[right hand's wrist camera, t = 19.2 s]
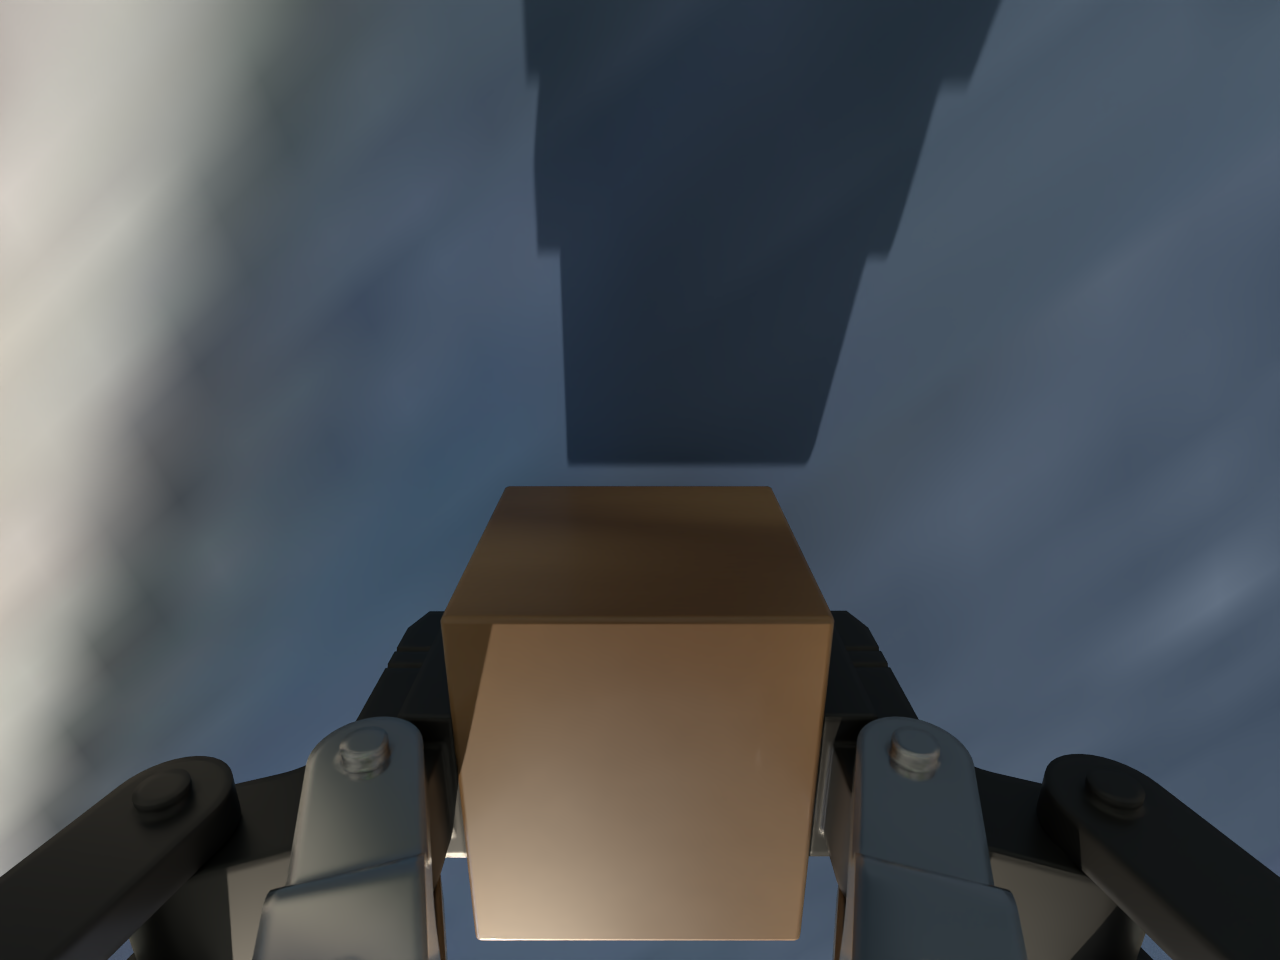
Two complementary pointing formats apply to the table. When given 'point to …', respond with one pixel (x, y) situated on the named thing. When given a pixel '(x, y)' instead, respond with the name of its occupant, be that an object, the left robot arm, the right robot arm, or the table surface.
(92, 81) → the table surface
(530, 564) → the brick
